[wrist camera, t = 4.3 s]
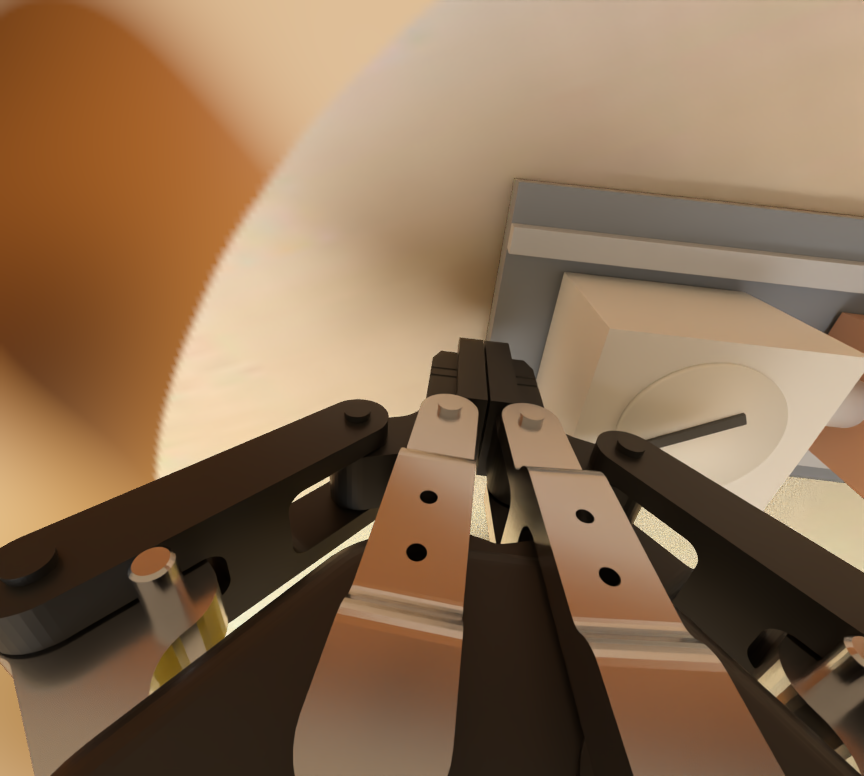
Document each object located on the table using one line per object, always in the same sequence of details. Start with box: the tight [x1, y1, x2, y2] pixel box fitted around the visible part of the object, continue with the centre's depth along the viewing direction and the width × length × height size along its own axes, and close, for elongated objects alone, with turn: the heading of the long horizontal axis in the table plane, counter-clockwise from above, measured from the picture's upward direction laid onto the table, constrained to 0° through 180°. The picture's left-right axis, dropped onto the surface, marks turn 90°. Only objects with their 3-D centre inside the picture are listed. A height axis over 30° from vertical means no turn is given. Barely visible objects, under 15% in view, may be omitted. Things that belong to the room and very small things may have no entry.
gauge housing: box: [536, 272, 864, 511], centre depth 13 cm, size 9×5×5 cm, turn 85°
